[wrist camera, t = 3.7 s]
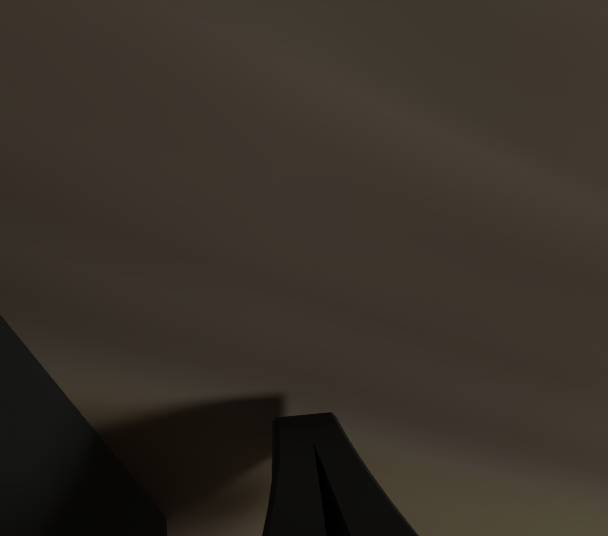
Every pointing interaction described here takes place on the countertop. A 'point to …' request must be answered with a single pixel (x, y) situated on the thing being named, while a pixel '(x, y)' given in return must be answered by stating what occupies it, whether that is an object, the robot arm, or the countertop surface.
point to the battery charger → (59, 461)
